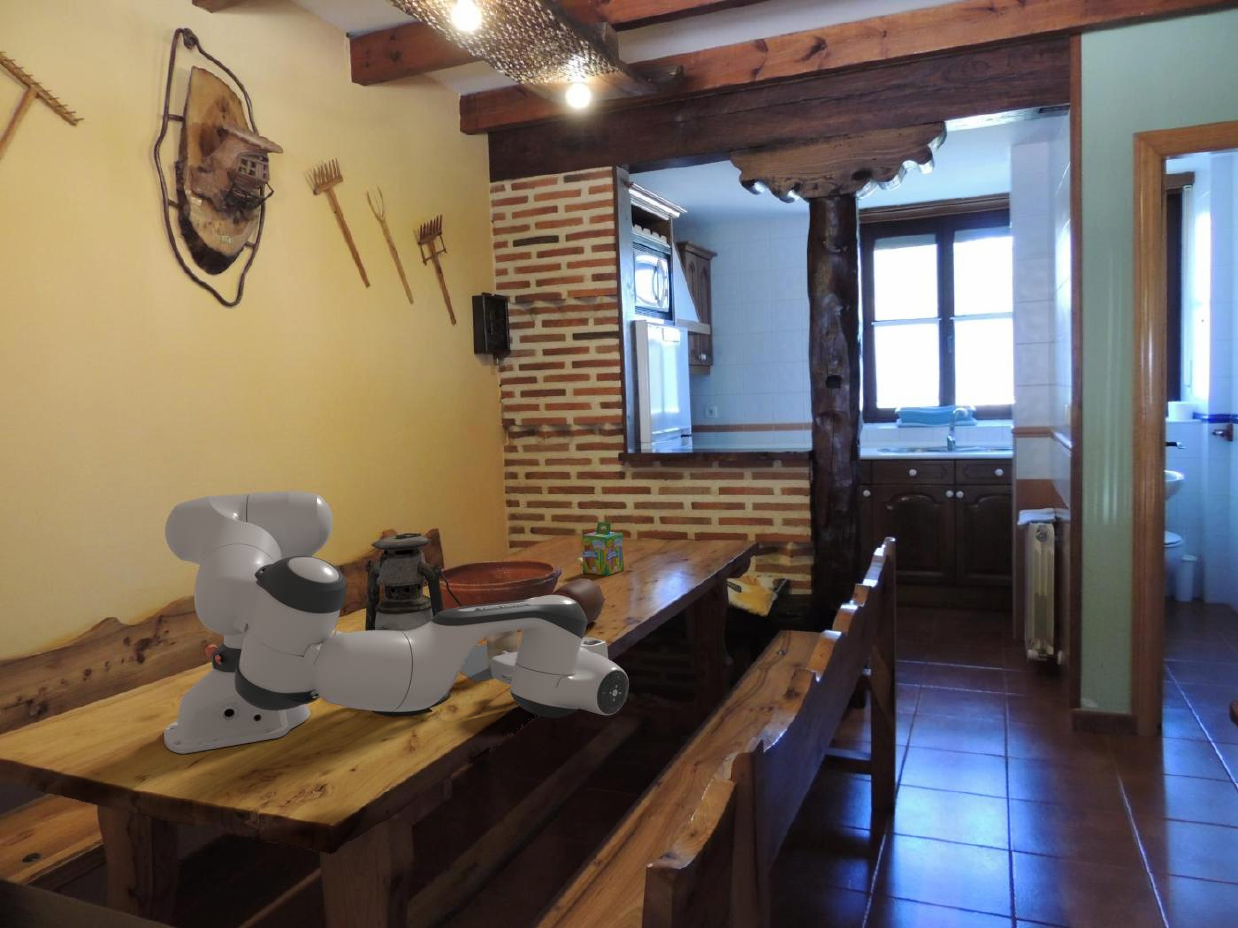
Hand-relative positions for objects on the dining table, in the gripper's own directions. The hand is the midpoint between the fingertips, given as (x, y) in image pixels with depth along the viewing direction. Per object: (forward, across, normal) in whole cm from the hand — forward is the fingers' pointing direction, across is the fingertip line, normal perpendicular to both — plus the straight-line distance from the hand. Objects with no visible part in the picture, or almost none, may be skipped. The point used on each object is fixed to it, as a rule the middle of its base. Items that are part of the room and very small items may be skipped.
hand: (528, 649), depth 162 cm
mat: (+17, 0, -7) cm, 18 cm away
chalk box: (+76, +64, -7) cm, 100 cm away
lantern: (+7, -19, -7) cm, 21 cm away
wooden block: (+11, 0, -6) cm, 13 cm away
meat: (+29, +27, -7) cm, 40 cm away
